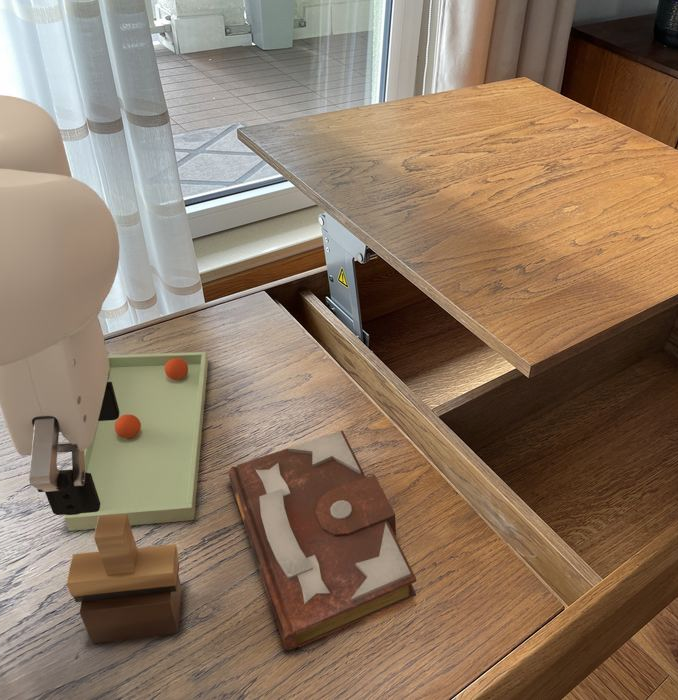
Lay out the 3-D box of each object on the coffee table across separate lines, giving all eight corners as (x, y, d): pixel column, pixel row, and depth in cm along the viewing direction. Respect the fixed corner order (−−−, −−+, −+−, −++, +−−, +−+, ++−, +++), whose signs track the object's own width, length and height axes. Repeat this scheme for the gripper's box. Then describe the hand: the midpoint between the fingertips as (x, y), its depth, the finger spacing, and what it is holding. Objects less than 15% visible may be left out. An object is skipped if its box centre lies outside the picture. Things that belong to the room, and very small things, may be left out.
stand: (177, 633, 73) (169, 602, 69) (92, 644, 71) (78, 612, 67) (182, 589, 76) (174, 557, 73) (100, 598, 75) (88, 566, 71)
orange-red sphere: (188, 366, 101) (188, 383, 99) (165, 366, 100) (164, 384, 98) (188, 353, 99) (188, 371, 97) (164, 353, 98) (164, 372, 96)
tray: (194, 520, 83) (191, 507, 82) (69, 531, 80) (64, 518, 78) (208, 364, 103) (206, 351, 101) (108, 368, 100) (104, 355, 98)
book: (232, 489, 88) (225, 464, 85) (351, 448, 94) (349, 423, 90) (287, 656, 73) (281, 633, 70) (424, 595, 79) (425, 572, 76)
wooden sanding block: (177, 592, 70) (164, 535, 64) (74, 603, 68) (49, 545, 62) (180, 563, 72) (167, 506, 66) (80, 574, 70) (57, 515, 64)
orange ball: (141, 409, 91) (144, 430, 92) (115, 411, 90) (118, 432, 91) (137, 419, 88) (140, 441, 89) (110, 421, 87) (113, 443, 88)
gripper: (6, 223, 52) (60, 390, 63) (-76, 385, 40) (10, 558, 51) (117, 223, 54) (151, 386, 65) (72, 378, 42) (124, 547, 53)
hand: (89, 461), depth 58 cm, fingers open, 9 cm apart
